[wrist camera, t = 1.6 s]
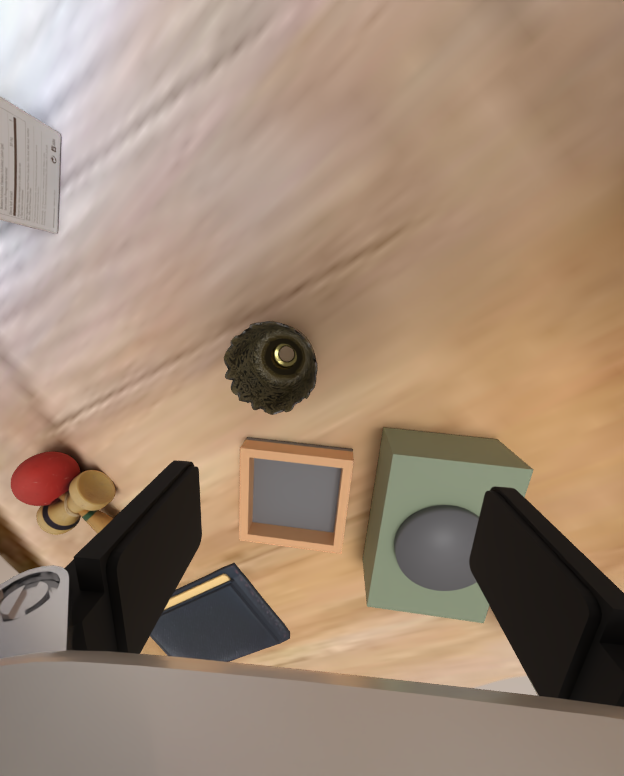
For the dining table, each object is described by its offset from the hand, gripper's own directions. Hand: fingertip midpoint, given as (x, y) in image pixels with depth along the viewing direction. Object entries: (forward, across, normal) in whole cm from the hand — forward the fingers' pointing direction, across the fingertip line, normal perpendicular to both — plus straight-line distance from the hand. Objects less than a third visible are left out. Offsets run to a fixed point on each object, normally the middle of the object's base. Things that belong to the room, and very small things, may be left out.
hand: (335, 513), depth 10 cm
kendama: (+24, +28, +19) cm, 41 cm away
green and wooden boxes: (+22, -4, +14) cm, 27 cm away
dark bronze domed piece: (+22, +5, -2) cm, 23 cm away
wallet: (+24, +15, +38) cm, 47 cm away
